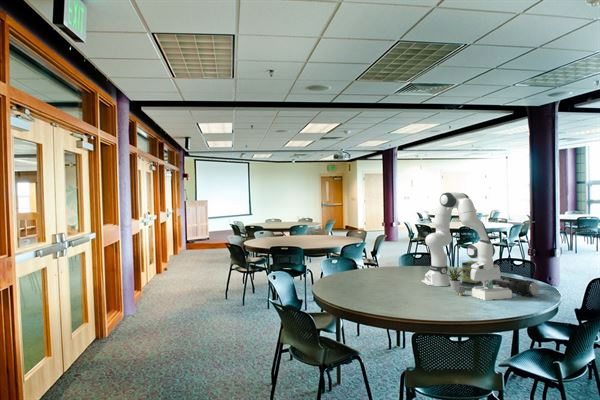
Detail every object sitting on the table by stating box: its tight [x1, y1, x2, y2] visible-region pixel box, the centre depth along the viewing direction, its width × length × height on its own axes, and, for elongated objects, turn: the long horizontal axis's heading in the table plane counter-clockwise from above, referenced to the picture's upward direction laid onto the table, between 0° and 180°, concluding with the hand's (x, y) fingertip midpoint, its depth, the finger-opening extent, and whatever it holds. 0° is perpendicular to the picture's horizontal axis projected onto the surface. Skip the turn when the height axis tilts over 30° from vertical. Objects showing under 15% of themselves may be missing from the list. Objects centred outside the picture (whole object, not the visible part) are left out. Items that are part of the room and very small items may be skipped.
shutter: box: [484, 282, 499, 289], centre depth 250 cm, size 7×8×3 cm
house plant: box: [447, 266, 465, 291], centre depth 272 cm, size 14×14×16 cm
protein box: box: [461, 260, 483, 286], centre depth 293 cm, size 10×16×16 cm
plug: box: [455, 284, 466, 297], centre depth 256 cm, size 4×4×6 cm
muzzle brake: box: [491, 275, 540, 297], centre depth 259 cm, size 10×28×10 cm, turn 25°
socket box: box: [471, 284, 513, 301], centre depth 250 cm, size 12×20×6 cm, turn 104°
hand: (485, 286), depth 249 cm, fingers closed
